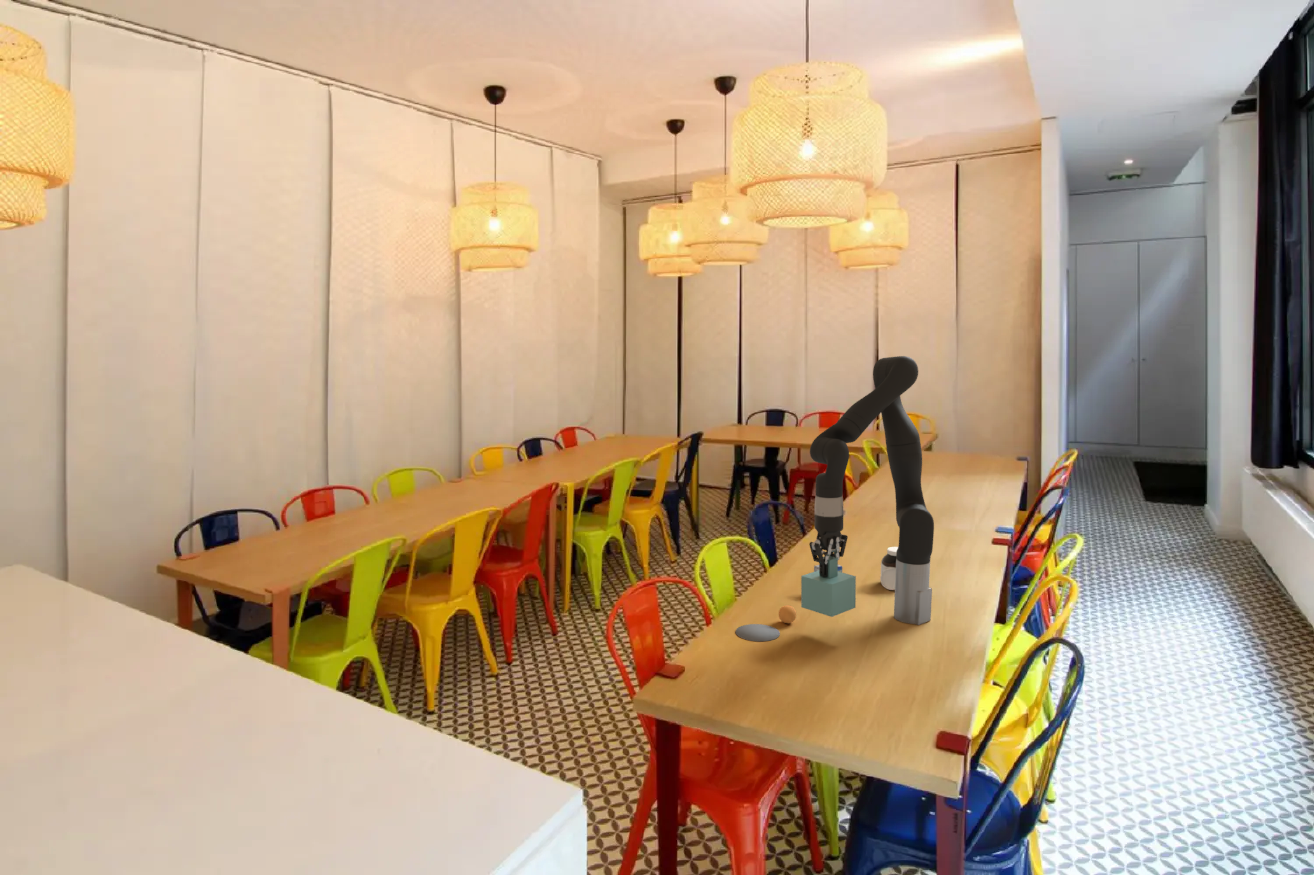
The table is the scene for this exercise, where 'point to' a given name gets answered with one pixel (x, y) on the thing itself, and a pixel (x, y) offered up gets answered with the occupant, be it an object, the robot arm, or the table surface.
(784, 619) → the ball
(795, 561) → the table surface
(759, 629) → the spot
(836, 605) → the teal cube with peg
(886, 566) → the spread jar
